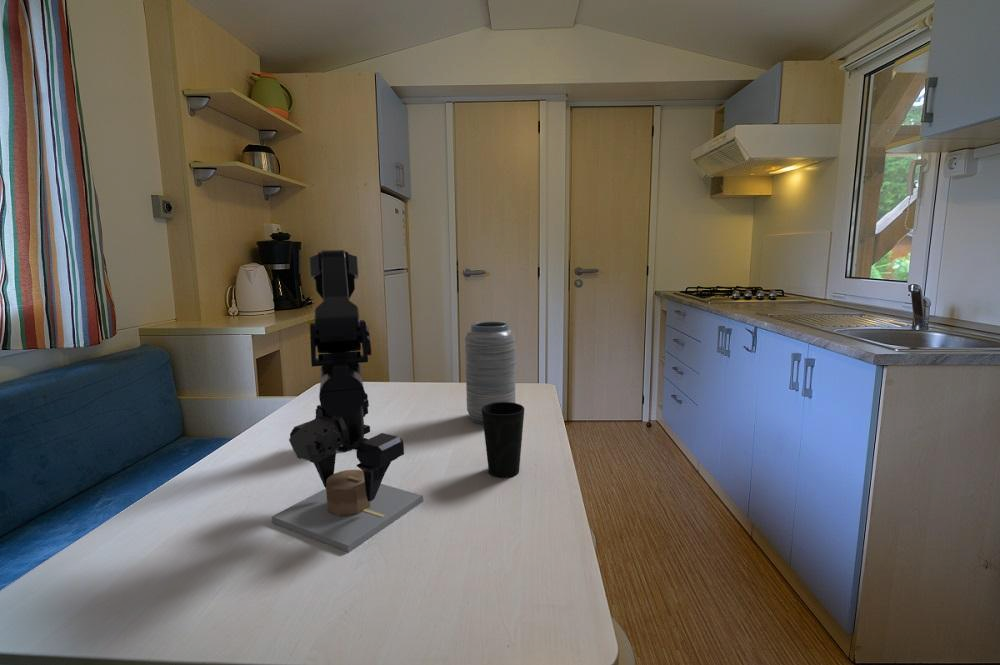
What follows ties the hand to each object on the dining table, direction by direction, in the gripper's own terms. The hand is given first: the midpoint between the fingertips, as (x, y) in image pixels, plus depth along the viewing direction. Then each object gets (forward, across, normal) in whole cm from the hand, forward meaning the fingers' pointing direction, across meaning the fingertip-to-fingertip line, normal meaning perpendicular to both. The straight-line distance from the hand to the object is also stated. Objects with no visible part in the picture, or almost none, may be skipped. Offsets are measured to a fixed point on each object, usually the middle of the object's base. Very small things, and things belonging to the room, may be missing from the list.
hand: (349, 493), depth 79 cm
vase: (+3, -3, +48) cm, 48 cm away
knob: (+2, 0, 0) cm, 2 cm away
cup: (+3, +14, +24) cm, 28 cm away
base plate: (+3, 0, 0) cm, 3 cm away
